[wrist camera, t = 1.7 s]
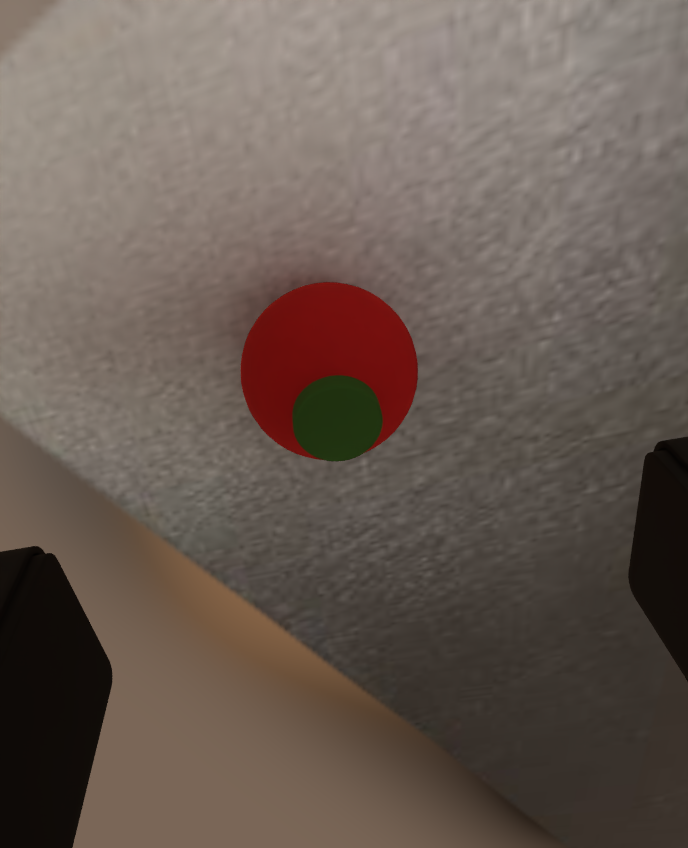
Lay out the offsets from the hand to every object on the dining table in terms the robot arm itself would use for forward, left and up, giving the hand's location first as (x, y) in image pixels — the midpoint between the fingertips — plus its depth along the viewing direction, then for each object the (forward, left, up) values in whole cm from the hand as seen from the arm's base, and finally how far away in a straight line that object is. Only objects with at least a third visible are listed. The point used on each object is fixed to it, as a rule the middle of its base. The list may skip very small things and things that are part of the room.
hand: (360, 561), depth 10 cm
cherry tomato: (-1, 0, -8) cm, 8 cm away
